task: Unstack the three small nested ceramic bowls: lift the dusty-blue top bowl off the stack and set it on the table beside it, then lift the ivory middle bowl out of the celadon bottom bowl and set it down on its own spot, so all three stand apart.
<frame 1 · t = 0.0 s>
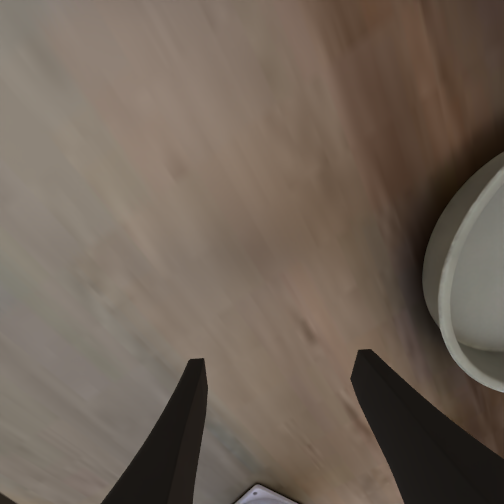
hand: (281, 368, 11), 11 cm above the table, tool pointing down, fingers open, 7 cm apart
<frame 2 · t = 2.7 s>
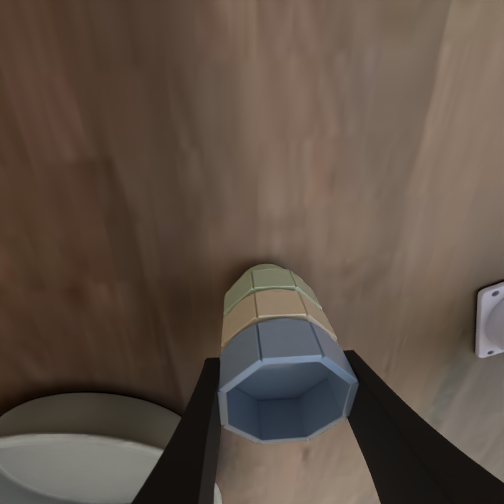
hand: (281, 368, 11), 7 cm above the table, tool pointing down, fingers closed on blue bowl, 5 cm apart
blue bowl: (273, 332, 13), point 4 cm above the table, touching gripper, ivory bowl
cake pan: (108, 452, 25), on the table
ivory bowl: (268, 306, 15), point 2 cm above the table, touching blue bowl, celadon bowl
celadon bowl: (265, 287, 17), on the table, touching ivory bowl
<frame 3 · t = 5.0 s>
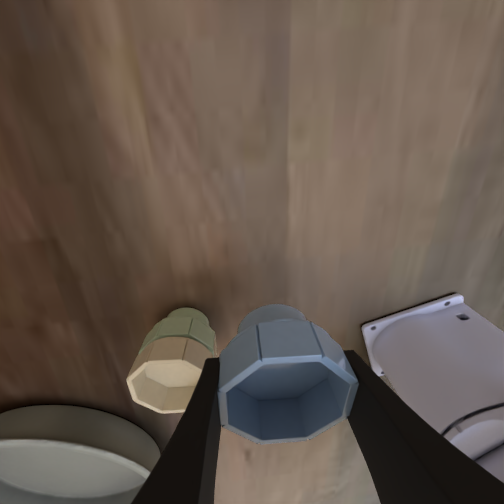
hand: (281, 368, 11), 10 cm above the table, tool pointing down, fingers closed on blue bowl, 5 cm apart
blue bowl: (273, 332, 13), point 7 cm above the table, touching gripper
cake pan: (76, 453, 30), on the table
ivory bowl: (182, 343, 20), point 2 cm above the table, touching celadon bowl
celadon bowl: (187, 324, 22), on the table, touching ivory bowl
when the fingers open (2 cm above the table, at t = 7.2 s): blue bowl stays where it is, on the table.
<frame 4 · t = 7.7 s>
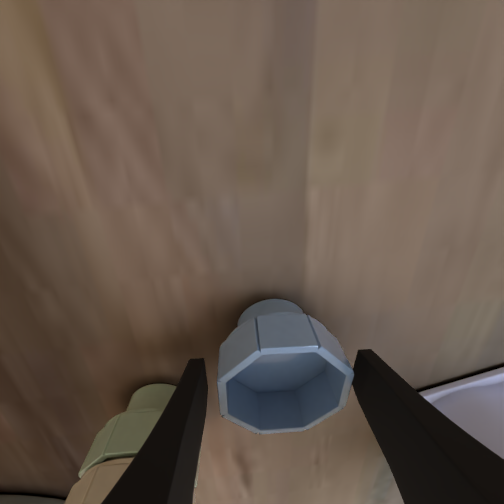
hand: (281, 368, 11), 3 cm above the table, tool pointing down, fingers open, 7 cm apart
blue bowl: (271, 326, 13), on the table
ivory bowl: (151, 440, 14), point 2 cm above the table, touching celadon bowl
celadon bowl: (162, 402, 16), on the table, touching ivory bowl
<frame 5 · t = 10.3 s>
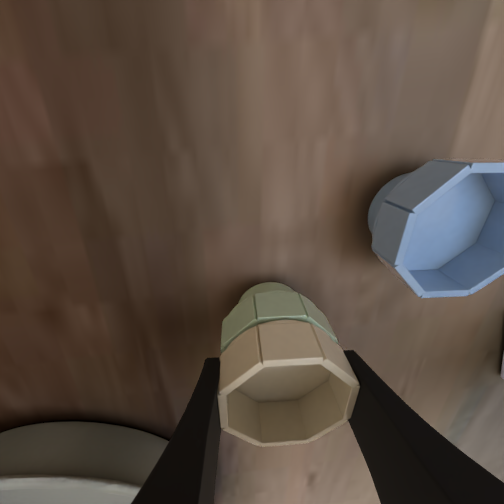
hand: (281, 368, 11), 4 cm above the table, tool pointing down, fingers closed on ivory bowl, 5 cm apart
blue bowl: (403, 210, 13), on the table
cake pan: (96, 481, 23), on the table
ivory bowl: (273, 333, 13), point 2 cm above the table, touching celadon bowl, gripper
celadon bowl: (268, 307, 15), on the table, touching ivory bowl
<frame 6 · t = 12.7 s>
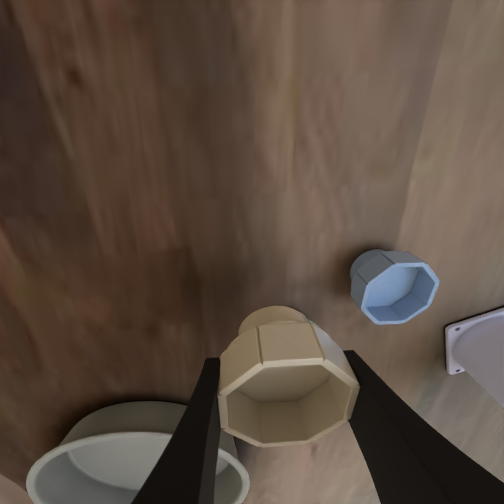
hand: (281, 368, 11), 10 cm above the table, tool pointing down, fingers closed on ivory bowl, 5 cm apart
blue bowl: (371, 269, 21), on the table
cake pan: (156, 447, 32), on the table
ivory bowl: (273, 334, 13), point 8 cm above the table, touching gripper
when the fingers open (2 cm above the table, at t = 15.2 s): ivory bowl stays where it is, on the table.
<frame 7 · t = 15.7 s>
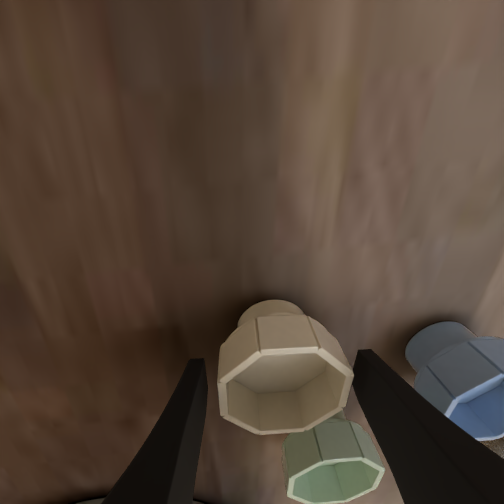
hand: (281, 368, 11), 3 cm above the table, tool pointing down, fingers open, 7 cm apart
blue bowl: (435, 345, 15), on the table
ivory bowl: (271, 327, 13), on the table
celadon bowl: (314, 411, 17), on the table
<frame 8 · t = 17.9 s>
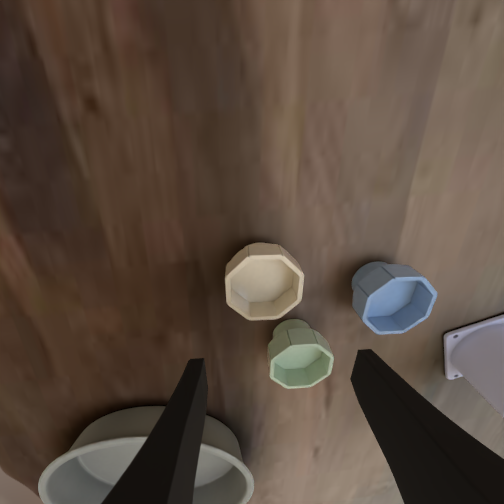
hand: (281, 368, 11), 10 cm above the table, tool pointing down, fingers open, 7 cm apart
blue bowl: (372, 279, 22), on the table
cake pan: (162, 450, 32), on the table
ivory bowl: (259, 263, 20), on the table
celadon bowl: (291, 333, 24), on the table
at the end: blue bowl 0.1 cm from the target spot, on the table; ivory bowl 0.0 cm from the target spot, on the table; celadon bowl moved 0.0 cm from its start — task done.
